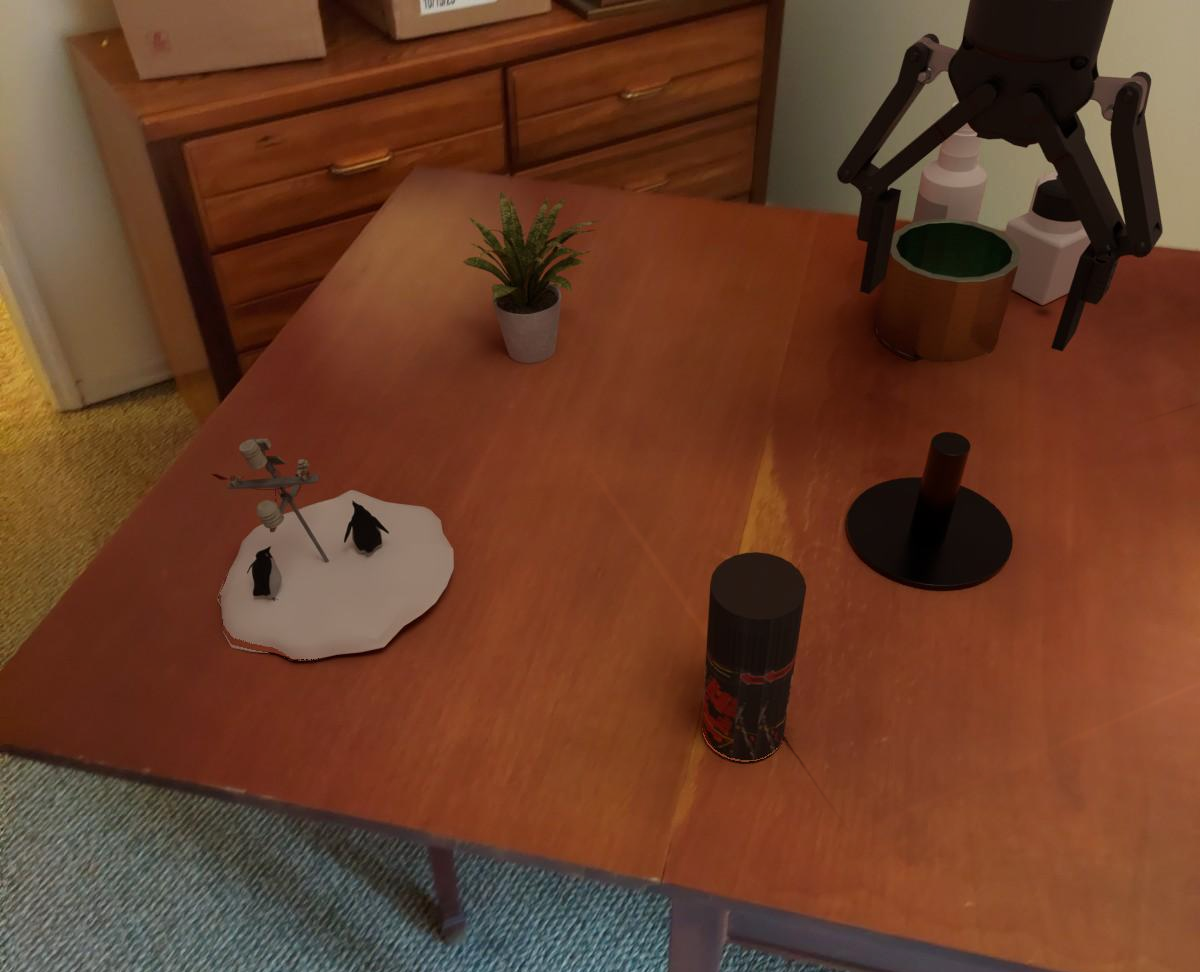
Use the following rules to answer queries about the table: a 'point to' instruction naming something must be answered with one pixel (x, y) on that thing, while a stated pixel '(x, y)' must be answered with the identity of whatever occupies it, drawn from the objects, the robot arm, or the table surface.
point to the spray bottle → (953, 180)
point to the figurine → (330, 568)
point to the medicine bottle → (1047, 242)
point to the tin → (945, 290)
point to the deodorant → (750, 654)
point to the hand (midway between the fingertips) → (964, 311)
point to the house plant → (528, 280)
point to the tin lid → (931, 525)
